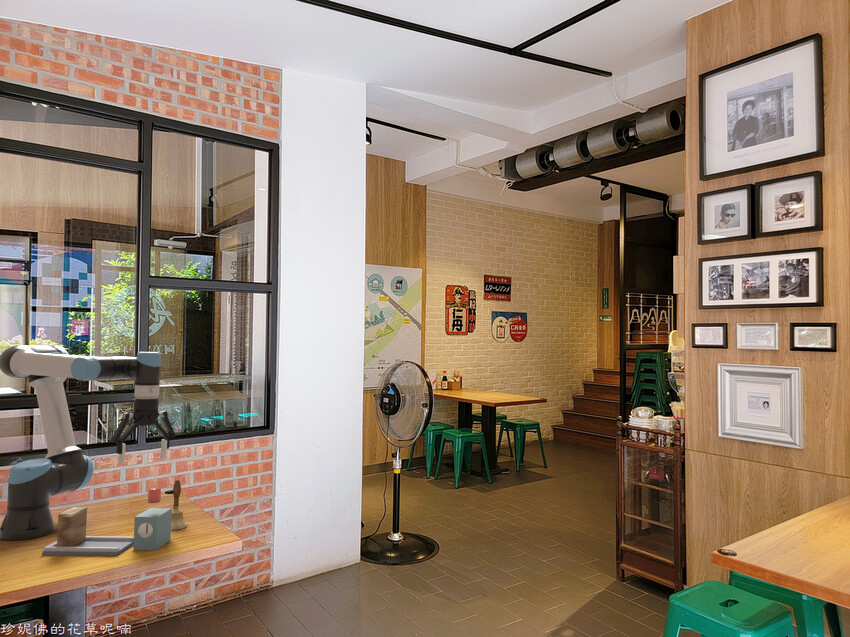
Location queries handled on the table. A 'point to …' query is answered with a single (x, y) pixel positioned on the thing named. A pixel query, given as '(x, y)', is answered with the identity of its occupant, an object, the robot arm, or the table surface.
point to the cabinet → (152, 529)
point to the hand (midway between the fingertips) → (142, 461)
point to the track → (93, 546)
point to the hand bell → (177, 509)
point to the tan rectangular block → (72, 527)
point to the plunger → (154, 495)
